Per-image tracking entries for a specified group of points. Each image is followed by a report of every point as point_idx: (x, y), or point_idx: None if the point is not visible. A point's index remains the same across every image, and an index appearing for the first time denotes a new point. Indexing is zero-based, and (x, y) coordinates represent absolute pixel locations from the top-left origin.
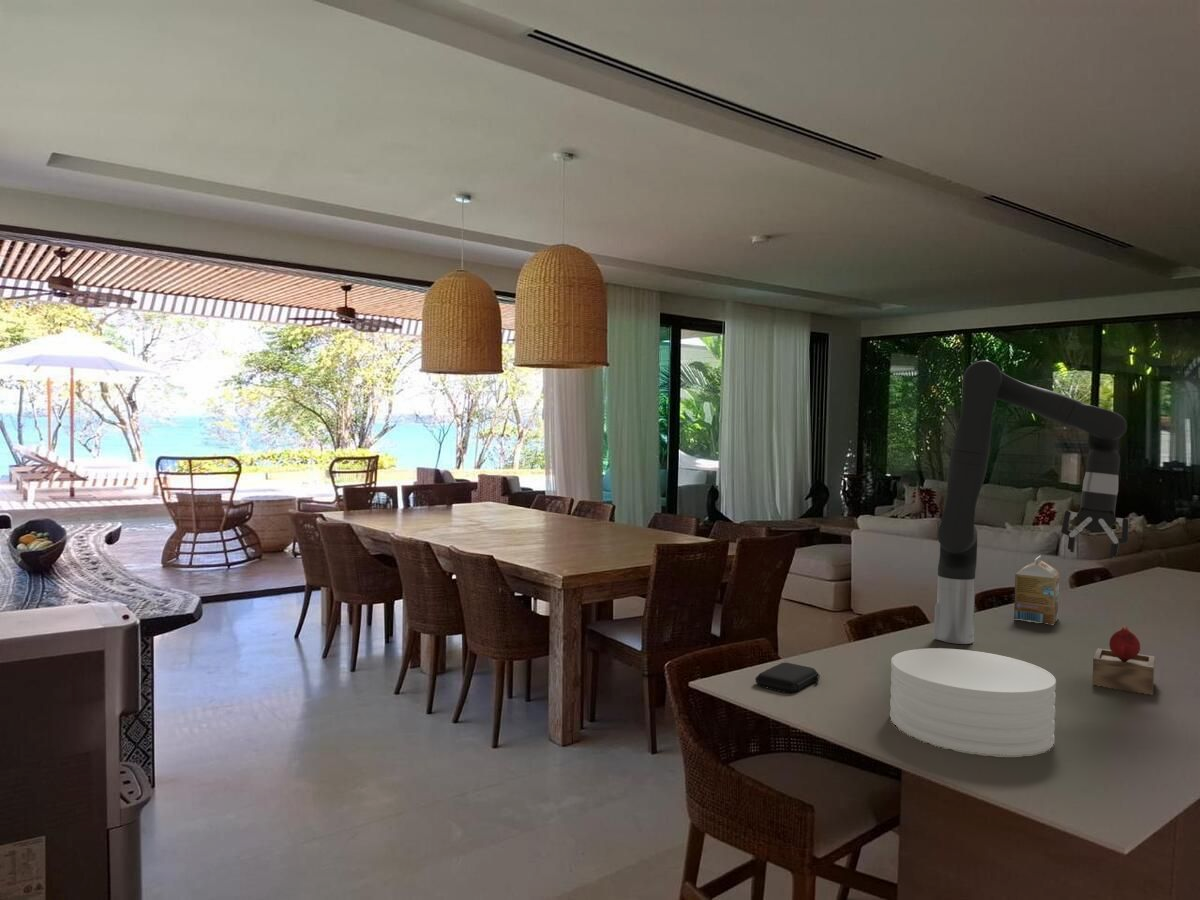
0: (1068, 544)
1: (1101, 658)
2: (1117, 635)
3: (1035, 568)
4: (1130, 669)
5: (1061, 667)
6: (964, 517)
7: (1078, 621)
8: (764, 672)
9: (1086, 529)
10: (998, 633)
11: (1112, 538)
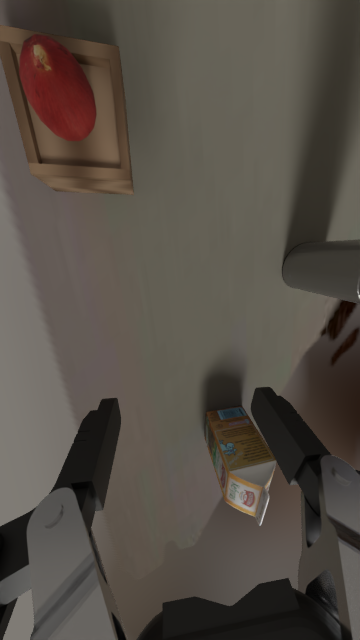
0: (298, 415)
1: (115, 124)
2: (62, 50)
3: (258, 481)
4: None
5: (179, 201)
6: None
7: (187, 443)
8: None
9: (298, 593)
10: (255, 338)
11: (70, 541)
